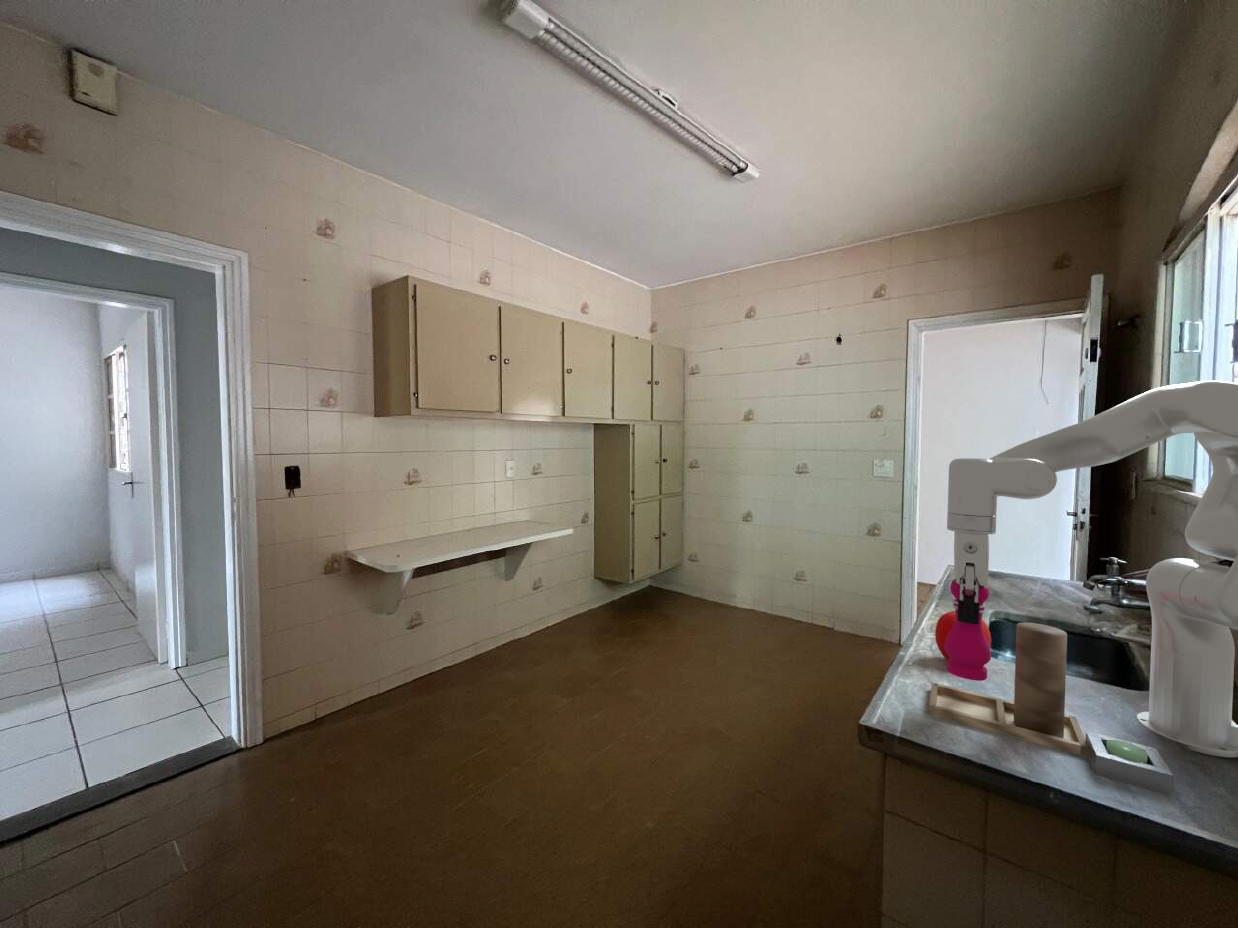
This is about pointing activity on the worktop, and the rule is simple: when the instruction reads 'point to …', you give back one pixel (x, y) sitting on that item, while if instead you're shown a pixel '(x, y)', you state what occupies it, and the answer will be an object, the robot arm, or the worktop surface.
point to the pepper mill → (968, 641)
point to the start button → (1126, 751)
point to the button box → (1130, 766)
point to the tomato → (945, 627)
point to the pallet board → (1000, 718)
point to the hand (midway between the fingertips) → (967, 616)
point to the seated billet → (1040, 678)
